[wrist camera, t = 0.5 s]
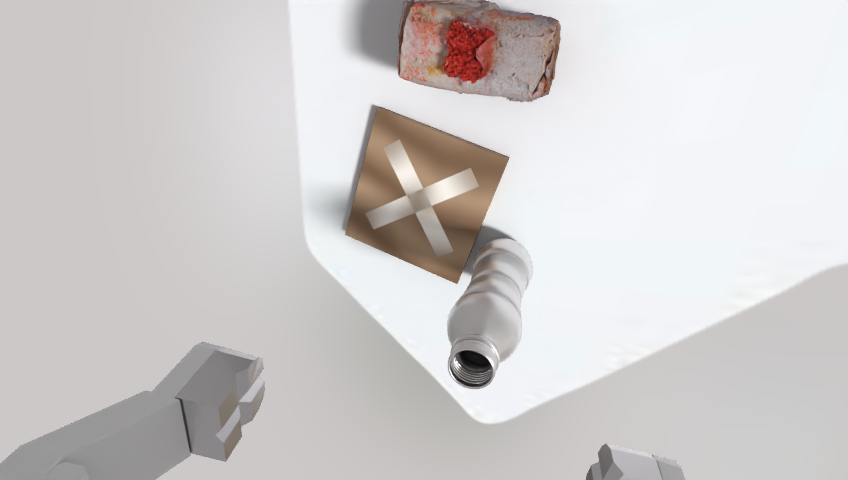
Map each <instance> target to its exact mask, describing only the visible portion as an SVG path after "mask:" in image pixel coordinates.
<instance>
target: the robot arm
mask: <svg viewBox="0 0 848 480" xmlns="http://www.w3.org/2000/svg"><path fill="white" fill-rule="evenodd" d="M263 369H264V368H263V359H262V358H260V357H256V356H253V355H249V354H246V353H242V352H238V351H235V350H232V349H228V348H224V347H220V346H216V345H212V344H209V343H205V342H201V343H199V344H197V345H196V346H194V348H192V350H191V351H190V352H189V353H188V354H187V355H186V356H185V357H184V358H183V359H182V360H181V361H180V362H179V363H178V364H177V365H176V367H175V368H174V369H173V370H172V371H171V372H170V373H169V374H168V375H167V376H166V377H165V378H164V379H163V380H162V381H161V382H160V384H159V385H158V386H157V387H156V388H155V389H154V390H153V391H152V392H150V391H143V392H141V393H139V394H137V395H134V396H132V397H130V398H128V399H125V400H123V401H121V402H119V403H116V404H114V405H112V406H110V407H107V408H105V409H103V410H101V411H99V412H96V413H94V414H91V415H89V416H87V417H85V418H83V419H80V420H78V421H76V422H73V423H71V424H69V425H66V426H64V427H62V428H60V429H58V430H56V431H53V432H51V433H49V434H46V435H44V436H42V437H39V438H37V439H35V440H33V441H30V442H28V443H26V444H24V445H21V446H20V447H18V448H17V449H16V450H15V451H14V452H13V453H12V454H11V455H10V456H8V457H7V458H6V459H5V460H4V461H3V462H2V463H1V464H0V480H155V479H157V478H158V477H160V476H161V475H163V474H164V473H165V472H167V471H168V470H170V469H171V468H173V467H174V466H176V465H177V464H179V463H180V462H182V461H183V460H185V459H186V458H188V457H189V456H190V453H192V454H196V455H201V456H204V457H209V458H213V459H217V460H221V461H225V462H226V461H227V459H228V458H229V456H230V454H231V453H232V451H233V450H234V448H235V447H236V445H237V443H238V442H239V440H240V439H241V437H242V432H241V426H243V425H245V424H247V423H249V422H250V421H252V420H253V418H254V417H255V415H256V413H257V412H258V410H259V407H260V405H261V402H262V400H263V396H264V390H265V385H264V384H265V383H264V381H263V379H262V378H261V377H260V373H261V372H262V370H263ZM598 457H599V462H598V463H595V464H593V465H591V467H590V469H589V471H588V473H587V476H586V480H685V477H684V475H683V472H682V469H681V466H680V465H679V464H678V463H677V461H675V460H671V459H667V458H663V457H659V456H655V455H650V454H648V453H644V452H640V451H636V450H631V449H627V448H623V447H619V446H614V445H610V444H604V445H603V446H602V447H601V449H600V450H599V452H598Z"/></svg>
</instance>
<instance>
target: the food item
mask: <svg viewBox="0 0 848 480" xmlns="http://www.w3.org/2000/svg"><path fill="white" fill-rule="evenodd" d="M560 30H561V26H560V24H559V21H558V20H556V19H554V18H552V17H546V16H542V15H534V14H533V13H519V12H513V11H503V10H501V9H499V7H498V6H497V5H496V4H495V3H491V2H489V1H486V0H406V1H404V2H403V11H402V17H401V20H400V26H399V53H398V64H397V65H398V74H399V77H401V78H402V79H405V80H408V81H411V82H414V83H417V84H420V85H424V86H429V87H434V88H439V89H445V90H450V91H456V92H459V93H460V94H462V93H467V94H479V95H487V96H502V97H506V98H507V99H508V98H509V100H511V101H520V102H523V101H527V102H529V101H533V100H535V99H537V98H540V97H543V96H545V95H548V94H549V91H550V87H551V84H552V80H553V79H554V76H555V63H556V58H557V54H558V50H559V43H560Z"/></svg>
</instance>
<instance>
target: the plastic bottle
mask: <svg viewBox="0 0 848 480" xmlns="http://www.w3.org/2000/svg"><path fill="white" fill-rule="evenodd" d="M532 274H533V267H532V261H531V258H530V255H529V253H528V251H527V250H526V248H525V247H524V246H523V245H521V244H520V243H518V242H517V241H514V240H512V239H507V238H500V239H495V240H492V241H490V242H488V243H487V244H486V245H485V246H484V247H482V248H481V249H480V250H479V252H478V253H477V254H476V257H475V259H474V263H473V269H472V278H471V282H470V284H469V286H468V287H467V289H466V291H465V292H464V294H463V295H462V296H461V297H460V299H459V300H458V301H457V302H456V304H455V305H454V306H453V308H452V310H451V312H450V314H449V316H448V321H447V329H448V337H449V341H450V343H451V345H452V349H451V355H450V357H449V360H448V370H449V373H450V375H451V377H452V378H453V379H454V380H455V381H456V382H457V383H458V384H460V385H461V386H463V387H466V388H470V389H480V388H483V387H486V386H487V385H489V384H490V383H491V381H492V380H493V378H494V376H495V372H496V369H497V368H498V364H499V363H500V362H503V361H504V360H506V359H507V358H509V357H510V355H511V354H512V353H513V352H514V351H515V349H516V348H517V346H518V345H519V342H520V339H521V330H522V323H521V311H520V308H521V299H522V296H523V293H524V291H525V290H526V288H527V286H528V284H529V282H530V280H531V278H532Z"/></svg>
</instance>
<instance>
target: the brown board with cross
mask: <svg viewBox="0 0 848 480" xmlns="http://www.w3.org/2000/svg"><path fill="white" fill-rule="evenodd" d="M508 160H509V157H507V156H505V155H502V154H500V153H497V152H495V151H492V150H489V149H487V148H484V147H482V146H479V145H477V144H474V143H472V142H469V141H466V140H464V139H461V138H459V137H456V136H454V135H451V134H448V133H446V132H443V131H441V130H438V129H436V128H433V127H431V126H428V125H425V124H423V123H420V122H418V121H415V120H413V119H410V118H408V117H405V116H402V115H400V114H397V113H395V112H392V111H390V110H387V109H385V108H382V107H379V108H377V110H376V114H375V118H374V122H373V126H372V130H371V134H370V138H369V142H368V146H367V150H366V154H365V158H364V162H363V166H362V170H361V174H360V178H359V182H358V186H357V190H356V194H355V198H354V202H353V206H352V210H351V214H350V218H349V222H348V226H347V230H346V234H345V235H347V236H349V237H352V238H354V239H356V240H359V241H361V242H363V243H365V244H368V245H370V246H372V247H374V248H377V249H379V250H381V251H384V252H386V253H388V254H390V255H393V256H395V257H397V258H399V259H402V260H404V261H406V262H408V263H411V264H413V265H415V266H418V267H420V268H422V269H424V270H427V271H429V272H431V273H433V274H436V275H438V276H440V277H442V278H445V279H447V280H449V281H452V282H454V283H456V284H457V283H458V281H459V279H460V276H461V274H462V271H463V269H464V266H465V264H466V262H467V259H468V257H469V254H470V252H471V250H472V247H473V245H474V242H475V240H476V237H477V235H478V233H479V230H480V228H481V225H482V223H483V220H484V218H485V216H486V213H487V211H488V208H489V206H490V203H491V201H492V199H493V196H494V194H495V191H496V189H497V187H498V184H499V182H500V179H501V177H502V174H503V172H504V170H505V167H506V165H507V162H508Z"/></svg>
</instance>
